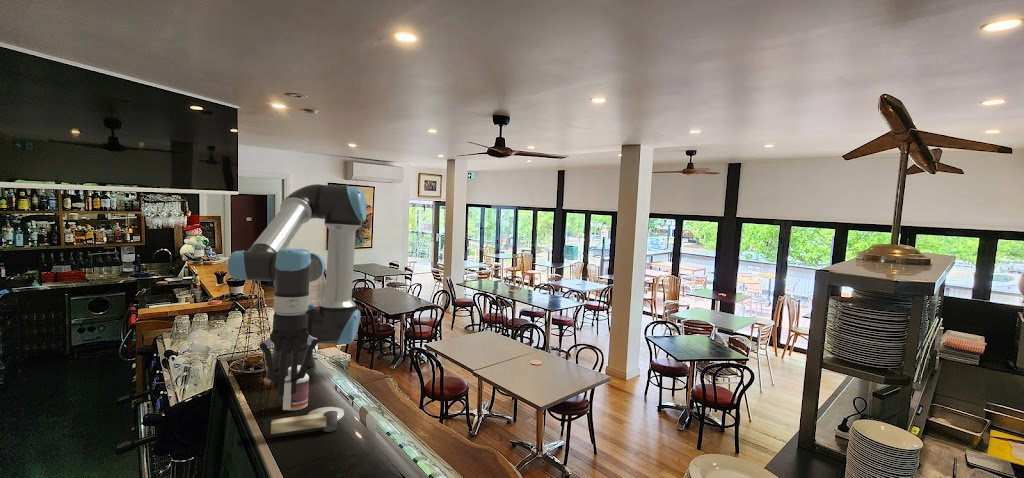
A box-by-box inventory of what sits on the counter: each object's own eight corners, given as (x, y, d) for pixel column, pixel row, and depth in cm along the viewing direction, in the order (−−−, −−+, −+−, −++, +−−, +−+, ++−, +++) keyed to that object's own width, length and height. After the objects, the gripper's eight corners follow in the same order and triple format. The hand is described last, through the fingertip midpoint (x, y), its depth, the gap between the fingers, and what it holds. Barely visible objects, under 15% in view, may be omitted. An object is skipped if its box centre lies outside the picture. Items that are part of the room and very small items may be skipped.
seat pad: (305, 413, 116) (305, 409, 116) (340, 408, 121) (341, 404, 121) (308, 427, 108) (309, 423, 108) (346, 421, 113) (346, 417, 113)
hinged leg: (336, 425, 110) (337, 410, 110) (337, 430, 107) (338, 415, 107) (270, 434, 103) (271, 418, 103) (270, 440, 100) (271, 423, 100)
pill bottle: (311, 403, 123) (313, 364, 123) (301, 411, 117) (304, 371, 117) (289, 402, 123) (291, 363, 123) (278, 410, 117) (280, 370, 117)
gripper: (259, 317, 98) (255, 418, 99) (321, 314, 105) (317, 409, 106) (260, 310, 105) (255, 405, 106) (318, 308, 111) (313, 397, 112)
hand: (286, 407), depth 106 cm, fingers closed
